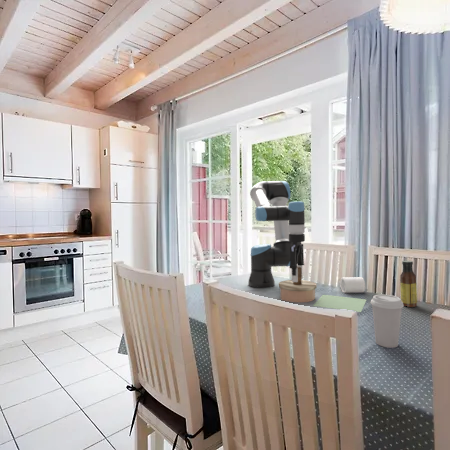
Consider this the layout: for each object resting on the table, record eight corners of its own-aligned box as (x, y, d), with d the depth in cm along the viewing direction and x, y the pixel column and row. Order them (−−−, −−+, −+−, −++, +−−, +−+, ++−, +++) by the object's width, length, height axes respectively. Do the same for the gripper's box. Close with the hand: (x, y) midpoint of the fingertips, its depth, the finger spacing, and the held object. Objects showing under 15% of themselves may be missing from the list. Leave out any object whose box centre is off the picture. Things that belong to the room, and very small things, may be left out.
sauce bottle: (415, 304, 142) (415, 260, 141) (418, 308, 136) (419, 262, 135) (398, 303, 144) (399, 259, 143) (401, 307, 139) (401, 262, 137)
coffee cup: (364, 338, 107) (364, 294, 106) (391, 336, 108) (391, 293, 107) (381, 350, 98) (381, 302, 97) (410, 348, 99) (410, 301, 98)
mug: (365, 294, 159) (365, 279, 159) (345, 295, 160) (345, 279, 159) (356, 288, 171) (356, 274, 171) (337, 289, 172) (337, 274, 171)
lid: (285, 280, 167) (285, 263, 167) (320, 284, 158) (320, 265, 158) (273, 288, 152) (272, 269, 151) (310, 292, 143) (310, 272, 142)
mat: (323, 295, 159) (323, 294, 159) (366, 300, 149) (366, 299, 149) (312, 307, 142) (312, 305, 142) (361, 313, 132) (361, 312, 132)
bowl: (287, 292, 166) (287, 281, 166) (318, 296, 158) (318, 284, 158) (276, 300, 153) (275, 288, 152) (309, 305, 144) (309, 292, 144)
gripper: (298, 235, 143) (298, 285, 144) (310, 231, 161) (310, 276, 162) (282, 235, 147) (282, 283, 148) (295, 231, 164) (296, 275, 166)
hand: (297, 280), depth 155 cm, fingers open, 7 cm apart
